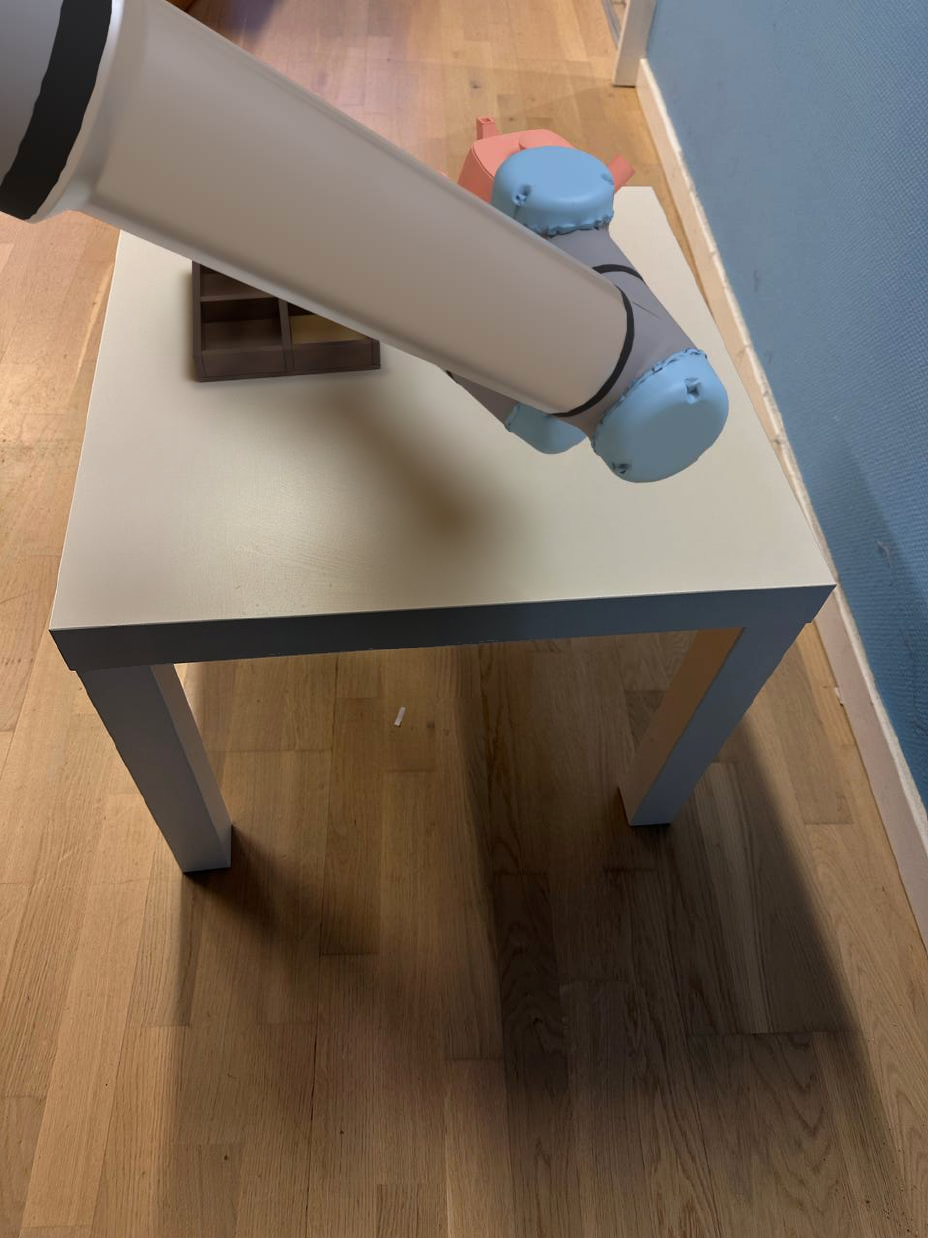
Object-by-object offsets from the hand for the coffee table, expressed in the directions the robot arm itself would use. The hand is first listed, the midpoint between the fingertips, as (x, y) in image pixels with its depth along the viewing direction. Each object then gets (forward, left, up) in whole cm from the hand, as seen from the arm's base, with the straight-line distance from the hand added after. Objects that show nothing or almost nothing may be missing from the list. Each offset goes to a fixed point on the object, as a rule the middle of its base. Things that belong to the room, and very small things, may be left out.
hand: (288, 181), depth 80 cm
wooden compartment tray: (-2, 0, -14) cm, 14 cm away
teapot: (+24, +6, -14) cm, 29 cm away
